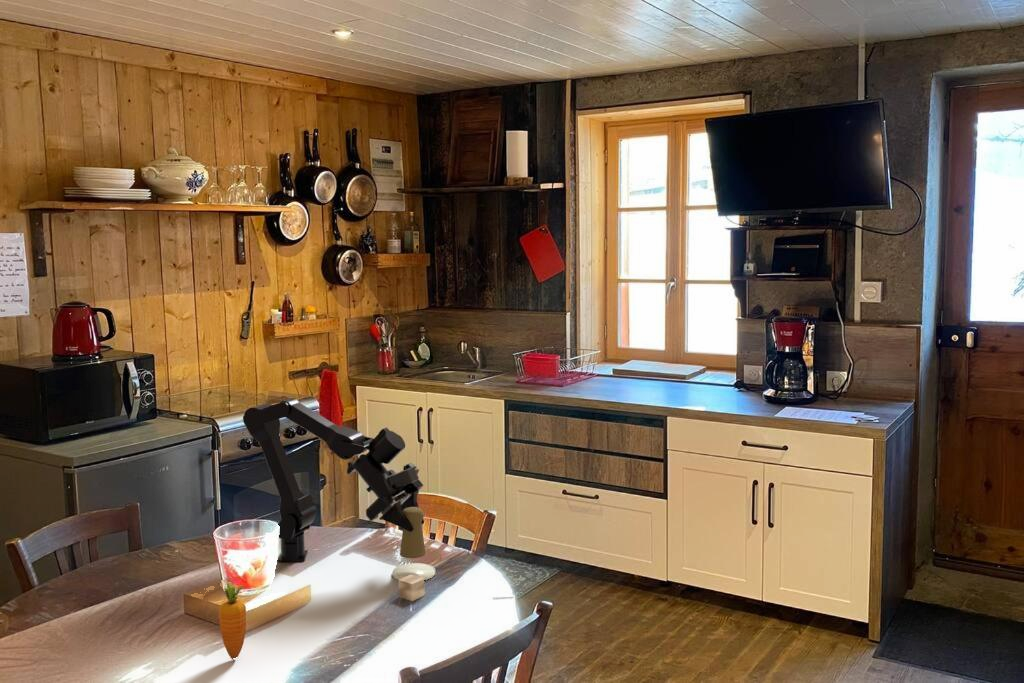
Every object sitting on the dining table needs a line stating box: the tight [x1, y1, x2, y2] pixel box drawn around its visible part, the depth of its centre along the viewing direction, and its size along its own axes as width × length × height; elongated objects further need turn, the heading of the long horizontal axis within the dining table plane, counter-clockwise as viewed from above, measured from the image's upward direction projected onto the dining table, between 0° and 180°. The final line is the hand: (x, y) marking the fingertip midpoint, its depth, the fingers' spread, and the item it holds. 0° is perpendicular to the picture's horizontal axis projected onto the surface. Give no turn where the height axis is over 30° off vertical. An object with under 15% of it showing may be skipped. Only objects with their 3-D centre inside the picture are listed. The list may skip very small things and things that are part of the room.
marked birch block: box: [398, 575, 426, 602], centre depth 198 cm, size 4×4×4 cm
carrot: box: [218, 581, 247, 659], centre depth 168 cm, size 5×5×15 cm
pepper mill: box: [399, 507, 426, 559], centre depth 210 cm, size 6×6×11 cm
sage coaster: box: [392, 562, 436, 582], centre depth 211 cm, size 10×10×1 cm
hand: (417, 527), depth 209 cm, fingers closed on pepper mill, 5 cm apart
